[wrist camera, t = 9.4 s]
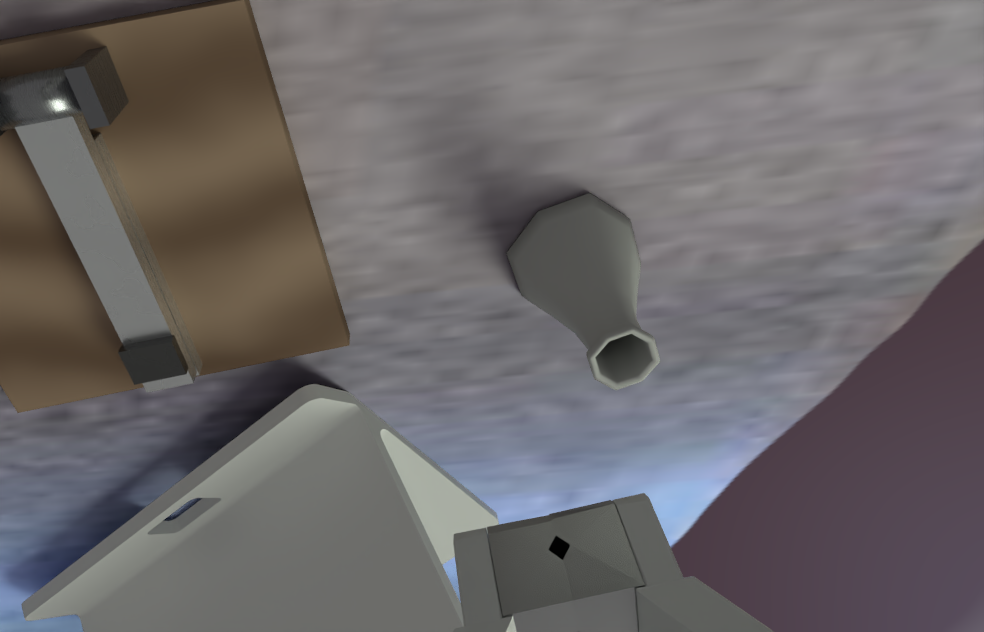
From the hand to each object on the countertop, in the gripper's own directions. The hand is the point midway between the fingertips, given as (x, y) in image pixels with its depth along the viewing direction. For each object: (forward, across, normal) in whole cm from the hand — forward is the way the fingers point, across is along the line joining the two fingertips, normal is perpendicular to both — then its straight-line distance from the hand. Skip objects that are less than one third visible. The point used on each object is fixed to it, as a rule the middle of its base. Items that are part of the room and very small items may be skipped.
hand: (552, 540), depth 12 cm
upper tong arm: (+27, +16, +5) cm, 32 cm away
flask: (+29, -6, +12) cm, 32 cm away
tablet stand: (+30, +16, +29) cm, 45 cm away
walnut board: (+29, +16, +5) cm, 34 cm away
